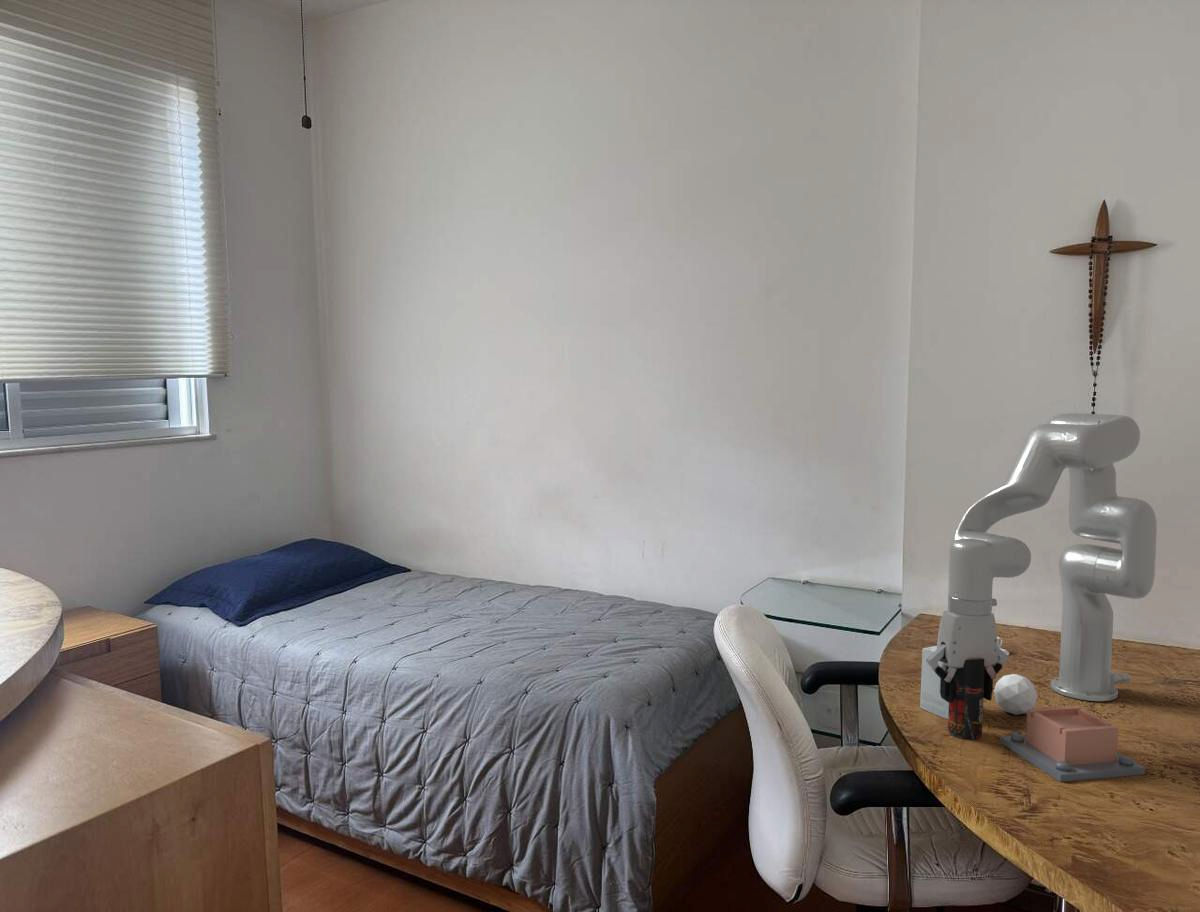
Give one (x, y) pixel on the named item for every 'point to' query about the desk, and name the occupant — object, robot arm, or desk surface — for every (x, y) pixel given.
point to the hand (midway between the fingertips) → (966, 698)
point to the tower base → (1067, 768)
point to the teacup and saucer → (1000, 646)
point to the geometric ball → (1015, 694)
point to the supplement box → (931, 687)
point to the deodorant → (967, 701)
